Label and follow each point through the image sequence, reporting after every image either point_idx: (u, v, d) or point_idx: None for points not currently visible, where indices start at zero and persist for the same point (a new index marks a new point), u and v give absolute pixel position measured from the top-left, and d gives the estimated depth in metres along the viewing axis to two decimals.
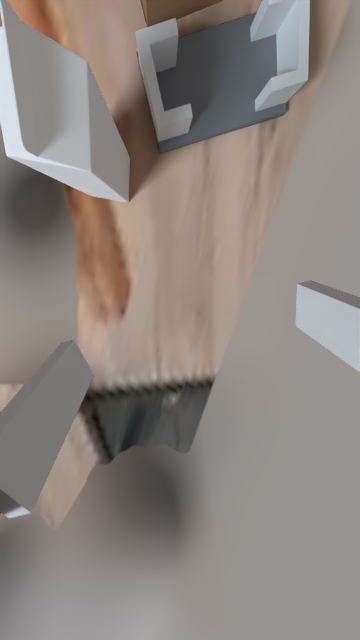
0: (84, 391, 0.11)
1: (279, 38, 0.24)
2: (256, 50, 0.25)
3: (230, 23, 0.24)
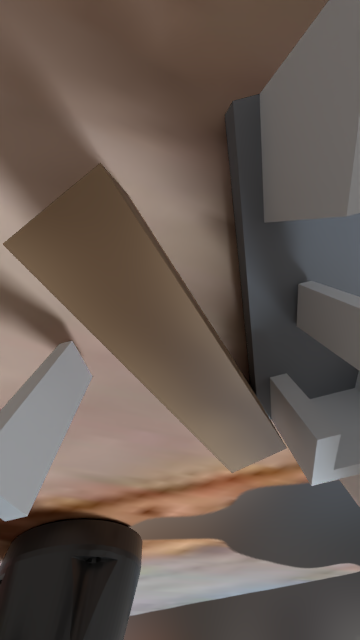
0: (82, 392, 0.11)
1: None
2: None
3: (250, 275, 0.10)
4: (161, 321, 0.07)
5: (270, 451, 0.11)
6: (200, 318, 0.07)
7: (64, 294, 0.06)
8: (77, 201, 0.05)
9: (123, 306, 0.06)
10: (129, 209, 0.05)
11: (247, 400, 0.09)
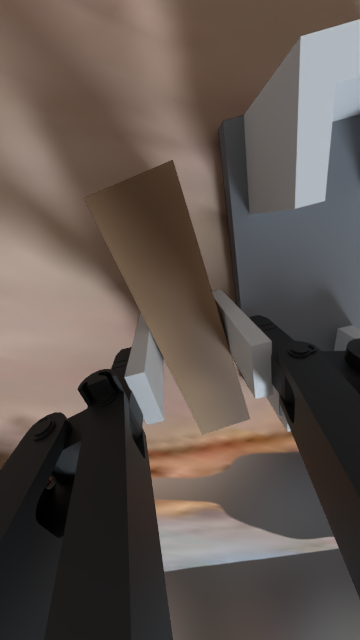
0: None
1: None
2: None
3: (239, 258, 0.13)
4: (181, 287, 0.09)
5: (236, 419, 0.13)
6: (211, 291, 0.09)
7: (116, 248, 0.08)
8: (148, 181, 0.07)
9: (157, 268, 0.08)
10: (183, 197, 0.07)
11: (229, 369, 0.11)
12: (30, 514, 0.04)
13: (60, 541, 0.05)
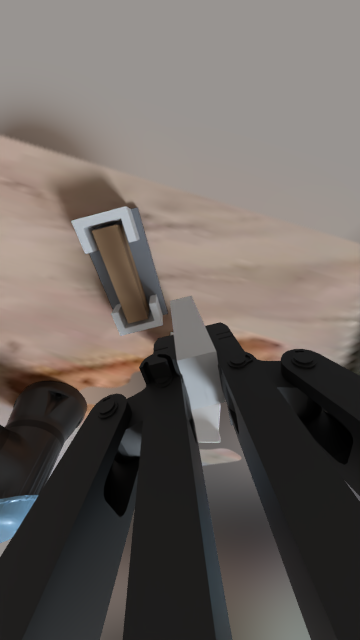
0: None
1: (96, 226, 0.31)
2: None
3: (95, 266, 0.34)
4: (118, 259, 0.29)
5: (142, 318, 0.33)
6: (128, 262, 0.29)
7: (99, 245, 0.28)
8: (109, 228, 0.27)
9: (111, 252, 0.28)
10: (118, 233, 0.27)
11: (137, 292, 0.31)
12: (99, 491, 0.04)
13: (121, 520, 0.05)
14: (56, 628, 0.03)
